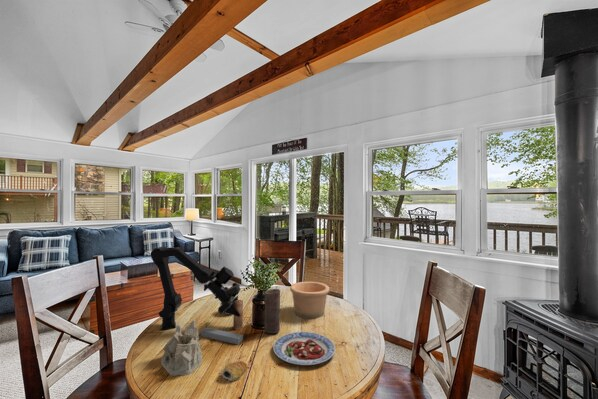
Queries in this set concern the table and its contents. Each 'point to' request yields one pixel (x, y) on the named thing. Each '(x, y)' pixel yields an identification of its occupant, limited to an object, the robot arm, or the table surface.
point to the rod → (236, 320)
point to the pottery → (309, 299)
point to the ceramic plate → (304, 348)
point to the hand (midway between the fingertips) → (240, 313)
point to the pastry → (234, 370)
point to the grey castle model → (182, 351)
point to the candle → (272, 311)
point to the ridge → (222, 335)
